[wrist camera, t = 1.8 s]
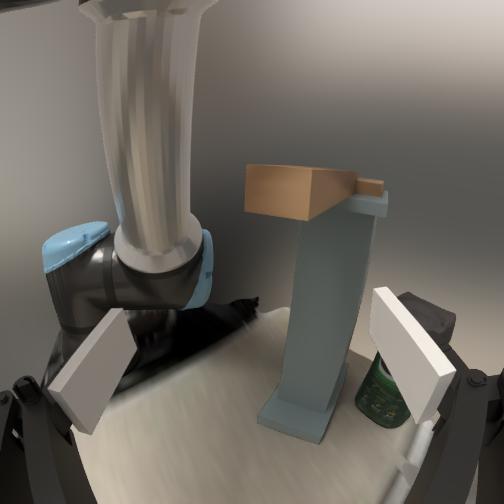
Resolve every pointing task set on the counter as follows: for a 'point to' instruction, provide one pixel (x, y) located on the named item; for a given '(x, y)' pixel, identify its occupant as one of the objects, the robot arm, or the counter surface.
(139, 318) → the counter surface
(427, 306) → the coffee jar
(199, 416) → the counter surface
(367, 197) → the stand
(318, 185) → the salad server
